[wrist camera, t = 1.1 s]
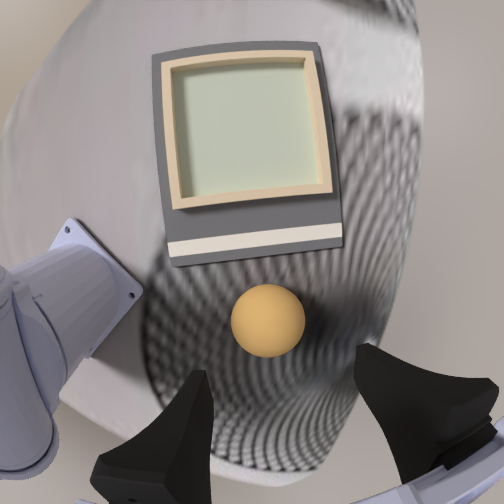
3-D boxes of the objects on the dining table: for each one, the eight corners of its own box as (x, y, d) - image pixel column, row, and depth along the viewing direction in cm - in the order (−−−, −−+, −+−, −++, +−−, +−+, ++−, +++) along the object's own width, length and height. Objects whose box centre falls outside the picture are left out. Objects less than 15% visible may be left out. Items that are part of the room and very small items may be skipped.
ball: (262, 345, 21) (271, 383, 16) (216, 307, 20) (213, 341, 15) (309, 304, 20) (329, 335, 16) (264, 260, 19) (275, 284, 15)
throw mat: (340, 245, 19) (347, 249, 18) (172, 265, 19) (168, 271, 18) (316, 44, 16) (321, 36, 15) (153, 56, 15) (148, 49, 14)
